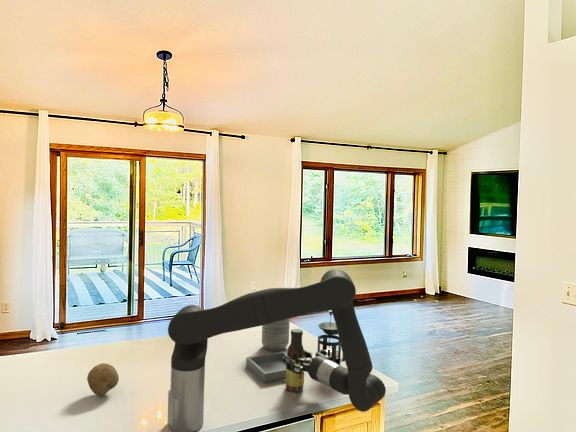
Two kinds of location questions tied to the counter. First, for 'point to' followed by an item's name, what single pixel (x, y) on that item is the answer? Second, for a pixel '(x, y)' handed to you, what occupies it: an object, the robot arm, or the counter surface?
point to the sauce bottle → (295, 351)
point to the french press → (331, 331)
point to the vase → (276, 335)
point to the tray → (268, 367)
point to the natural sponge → (102, 379)
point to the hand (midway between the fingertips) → (293, 355)
